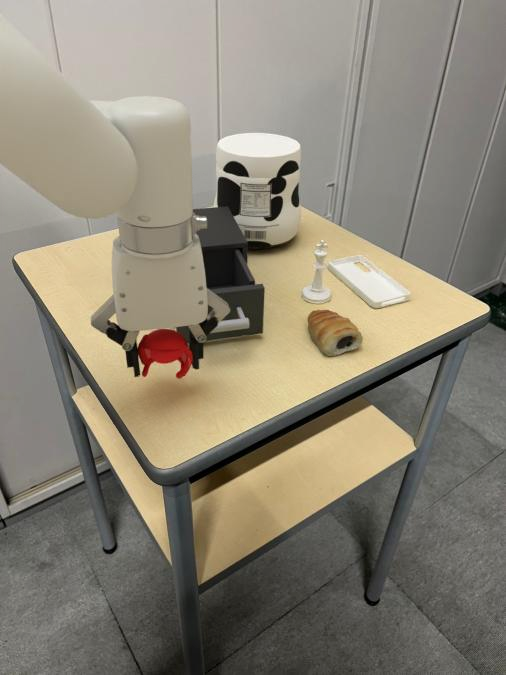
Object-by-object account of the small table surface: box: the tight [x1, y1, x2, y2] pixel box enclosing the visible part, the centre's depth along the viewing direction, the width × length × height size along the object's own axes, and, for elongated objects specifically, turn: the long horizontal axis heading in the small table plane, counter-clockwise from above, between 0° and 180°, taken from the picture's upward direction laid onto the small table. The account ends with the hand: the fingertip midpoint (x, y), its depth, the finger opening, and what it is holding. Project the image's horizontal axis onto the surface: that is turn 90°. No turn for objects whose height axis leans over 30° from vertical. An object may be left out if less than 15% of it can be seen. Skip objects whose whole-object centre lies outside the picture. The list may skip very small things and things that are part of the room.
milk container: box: [212, 132, 302, 249], centre depth 98 cm, size 17×17×18 cm
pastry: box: [307, 309, 364, 357], centre depth 76 cm, size 9×7×4 cm
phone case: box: [327, 254, 411, 309], centre depth 89 cm, size 7×1×15 cm
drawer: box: [175, 248, 266, 344], centre depth 76 cm, size 18×12×8 cm
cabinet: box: [193, 206, 249, 265], centre depth 87 cm, size 15×14×10 cm
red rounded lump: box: [137, 328, 193, 380], centre depth 62 cm, size 8×6×6 cm
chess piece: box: [300, 239, 332, 305], centre depth 83 cm, size 5×5×10 cm
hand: (165, 365), depth 63 cm, fingers closed on red rounded lump, 6 cm apart
